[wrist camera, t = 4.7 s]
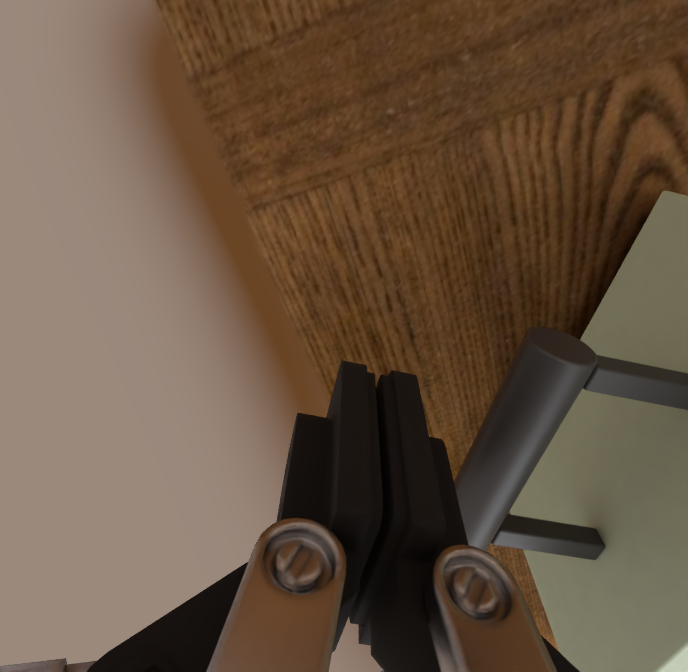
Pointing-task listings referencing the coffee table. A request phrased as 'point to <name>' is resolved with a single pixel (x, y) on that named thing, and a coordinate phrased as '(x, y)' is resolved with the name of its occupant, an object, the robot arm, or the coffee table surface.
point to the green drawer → (600, 464)
